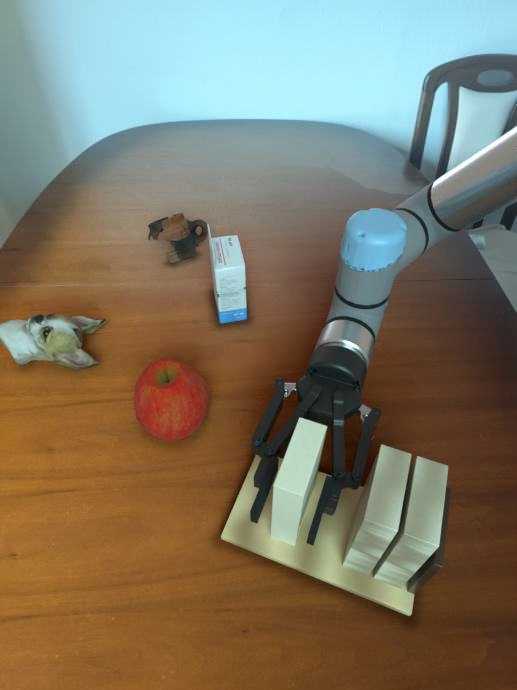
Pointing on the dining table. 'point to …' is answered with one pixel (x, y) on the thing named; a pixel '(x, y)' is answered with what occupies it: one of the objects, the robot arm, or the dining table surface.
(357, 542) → the book rack
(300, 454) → the cream book
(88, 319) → the ceramic sculpture
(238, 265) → the ink box
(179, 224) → the pottery mug
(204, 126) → the dining table surface
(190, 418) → the apple
